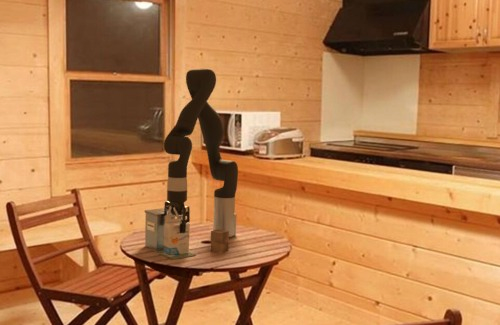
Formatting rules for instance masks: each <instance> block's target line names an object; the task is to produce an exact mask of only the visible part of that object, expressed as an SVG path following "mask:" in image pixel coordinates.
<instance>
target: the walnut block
mask: <svg viewBox="0 0 500 325" xmlns="http://www.w3.org/2000/svg"><path fill="white" fill-rule="evenodd" d="M229 238H230V237H229V231H226V230H221V229H217V230H214V231H213V230H212V231H210V252H213V253H217V254H223V253H226V252H228V251H229V244H230V243H229V242H230V240H229Z"/></svg>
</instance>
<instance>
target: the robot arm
mask: <svg viewBox="0 0 500 325" xmlns="http://www.w3.org/2000/svg"><path fill="white" fill-rule="evenodd" d="M185 81H186V82H185V83H186V87H187V90H188V92H189V96H190V98H191V100H190V101H189V102H188V103H186V105H185V106H184V107H183V108H182V109H181V112H180V113H179V116H178V118H177V121H176V124H175V125H174V126H173V128H171V130H170V131H169V132H168V134H167V135H166V137H165V139H164V142H163V150H164V151H165V153H166V154H169V155H175V156H179V157H178V159H177V160H172V161H169V162H168V165H167V168H168V170H167V180H166V181H167V183H166V185H167V186H166V200H167V201H165V202H164V207H163V208H164V216H166V215H171V214H172V215H175V216H177V217H176V219H177V218H178V219H179V221H180V233H185V232H186V223H190V220H191V217H190V216H191V215H190V213H191V212H190V206H185V202H187V201H188V173H187V172H188V164H189V160H190V157H191V153H192V150H193V142H192V140H191V138H190V137H188V136H190V135H193V134H192V133H193V132H194V130H195V127H196V124H197V122H198V124H199V127H200V131H201V134H202V138H203V140H204V145H205V149H206V153H207V158H208V166H209V171H210V175H211V176H212V178H213V179H214V180H215V181H220V182H223V186H221V187H219V188H216V189H215V190H214V192H213V194H214V195H213V222H212V226H213V227H212V231H214V230H217V229H221V230H226V231H229V238H231V237H234V236H237V213H235V212H236V211H235V210H236V209H235V208H236V192H237V189H238V175H239V168H238V164H237V162H236V161H234V160H229V159H228V160H227V159H223V158H222V156H221V153H220V151H221V150H220V149H221V148H220V147H221V144H222V142H223V138H224V136H225V129H224V125H223V122H222V118H221V116H220V115H219V113H218V112H217V111H216V110H215V109H214V107H212V105H211V104H210V102H208V100H209V99H210V96H211V95H212V93H213V92H214V90H215V87H216V85H217V84H216V83H217V75H216V72H215V71H214V70H213V69H211V68H198V69H197V68H196V69H189V70H188V71H187V72H186V75H185ZM168 210H169V211H168ZM167 211H168V213H167ZM173 218H174V217H172V218H171V219H173ZM181 218H182V219H181Z"/></svg>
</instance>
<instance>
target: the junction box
mask: <svg viewBox="0 0 500 325" xmlns="http://www.w3.org/2000/svg"><path fill="white" fill-rule="evenodd" d="M168 211H169V210H168ZM168 211H167V213H168ZM144 213H145V225H144V226H145V227H144V228H145V229H144V230H145V231H144V236H145V237H144V239H145V240H144V243H145V244H144V245H145V248H148V249H150V250H153V251H155V252H157V251H163V250H164V228H165V216H164V207H163V208H155V209H152V208H151V209H144ZM173 219H176V217H175V216H174V218H173Z"/></svg>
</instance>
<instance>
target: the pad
mask: <svg viewBox="0 0 500 325" xmlns="http://www.w3.org/2000/svg"><path fill="white" fill-rule="evenodd" d="M155 252H156V253H157V254H159V255H160V256H161V255H162V256H163V257H165V258H168V259H171V260H179V259H185V258H191V257H192V258H193V257H196V254H195V253H193V252H192V253H191V252H190V251H189V253H186V254H178V255H168V254H166V253H164V250H162V251H155Z"/></svg>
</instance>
